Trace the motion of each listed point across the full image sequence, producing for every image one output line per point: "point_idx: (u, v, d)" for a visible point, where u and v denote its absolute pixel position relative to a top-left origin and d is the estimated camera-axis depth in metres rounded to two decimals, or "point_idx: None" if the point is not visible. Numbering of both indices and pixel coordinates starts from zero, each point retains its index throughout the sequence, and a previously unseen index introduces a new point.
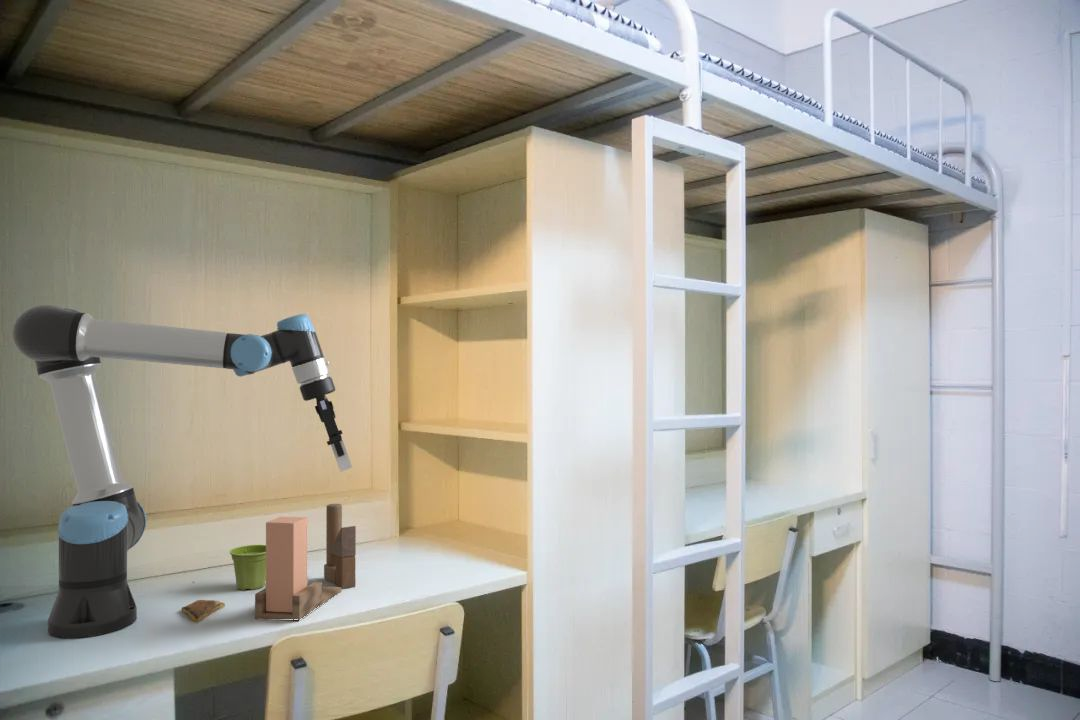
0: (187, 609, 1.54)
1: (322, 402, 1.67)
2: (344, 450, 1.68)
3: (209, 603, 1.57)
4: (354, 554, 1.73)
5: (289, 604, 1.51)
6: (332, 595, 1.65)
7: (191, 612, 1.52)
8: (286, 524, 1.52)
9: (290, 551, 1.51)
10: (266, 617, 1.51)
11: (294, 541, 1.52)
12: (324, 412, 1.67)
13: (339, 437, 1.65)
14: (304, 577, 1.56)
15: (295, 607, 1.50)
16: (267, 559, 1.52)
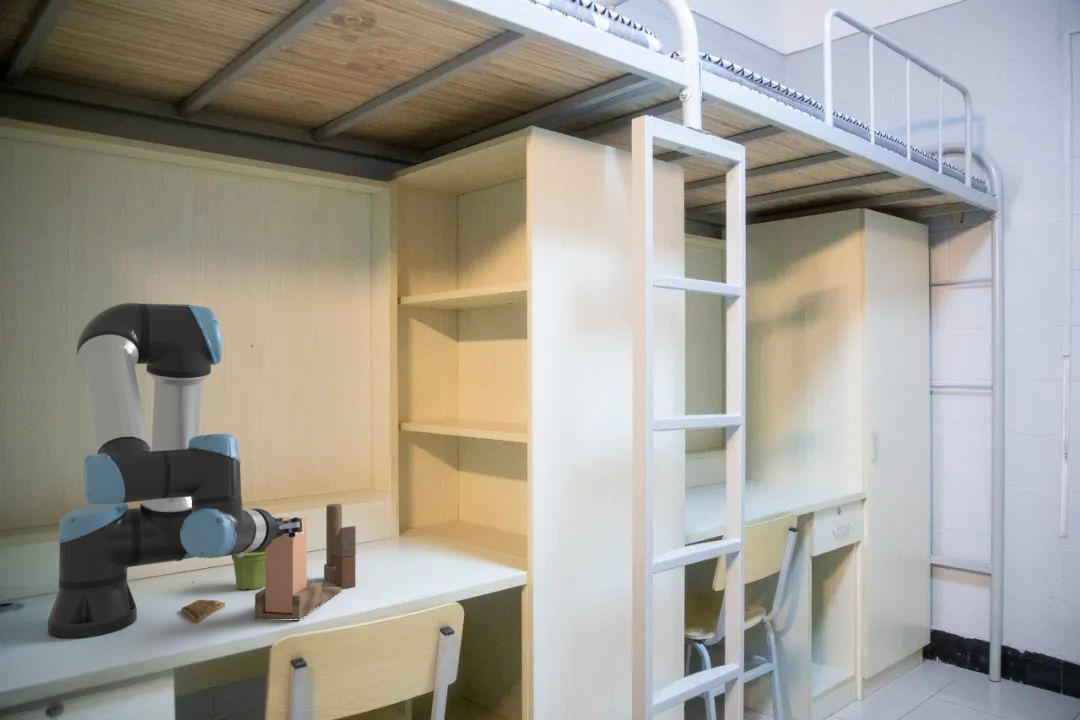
0: (187, 609, 1.54)
1: None
2: None
3: (209, 603, 1.57)
4: (354, 554, 1.73)
5: (289, 605, 1.51)
6: (332, 595, 1.65)
7: (191, 612, 1.52)
8: None
9: (290, 551, 1.51)
10: (266, 617, 1.51)
11: (293, 541, 1.51)
12: None
13: None
14: (303, 577, 1.55)
15: (295, 607, 1.50)
16: (266, 559, 1.52)
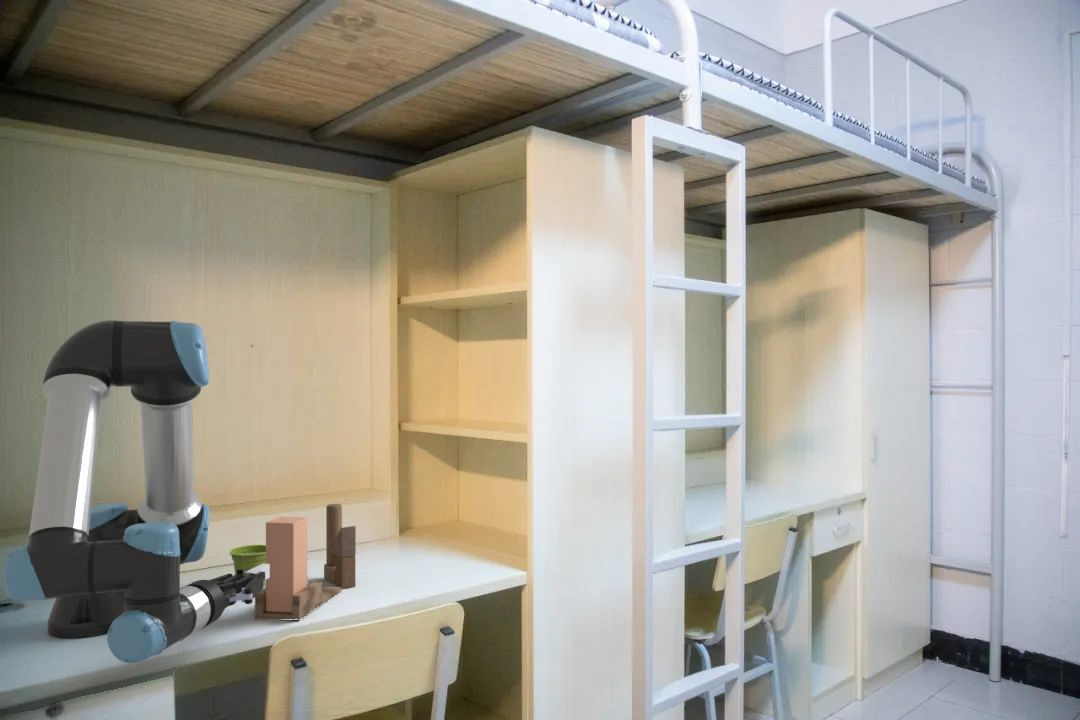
0: None
1: None
2: None
3: None
4: (354, 554, 1.73)
5: (289, 604, 1.51)
6: (332, 595, 1.65)
7: None
8: (286, 524, 1.52)
9: (290, 551, 1.51)
10: (266, 617, 1.51)
11: (294, 541, 1.52)
12: None
13: None
14: (304, 577, 1.56)
15: (295, 607, 1.50)
16: (267, 559, 1.52)
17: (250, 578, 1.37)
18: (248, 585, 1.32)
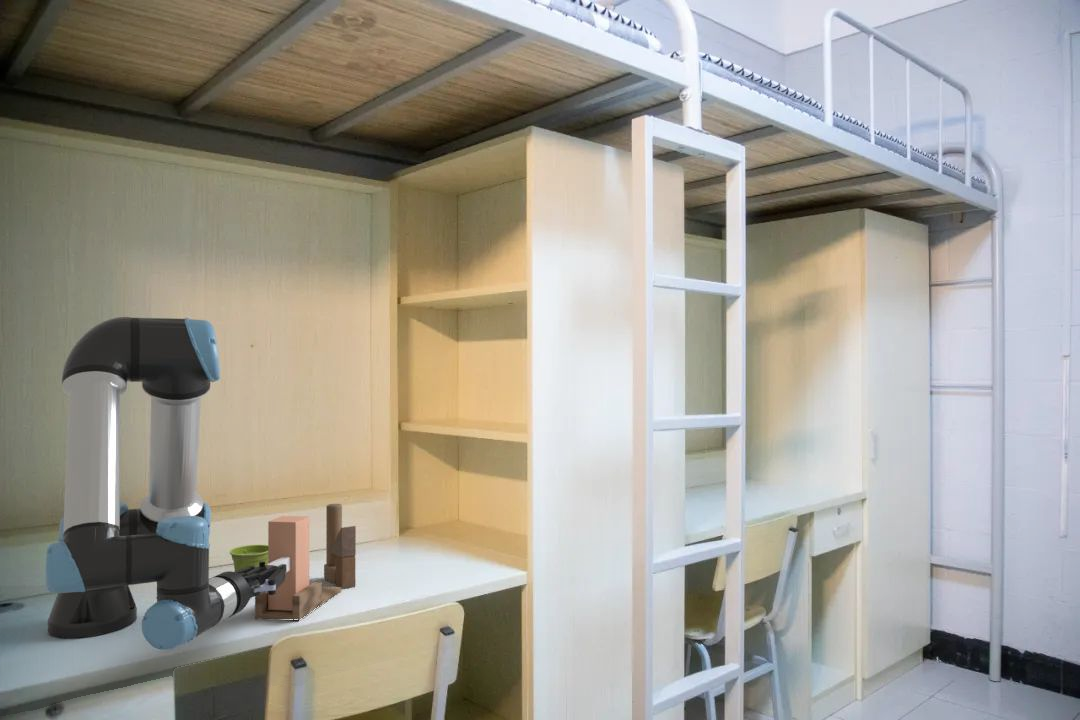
0: None
1: None
2: None
3: None
4: (354, 554, 1.73)
5: None
6: (332, 595, 1.65)
7: None
8: (288, 523, 1.52)
9: (292, 550, 1.52)
10: (266, 617, 1.51)
11: (296, 540, 1.53)
12: None
13: None
14: (306, 575, 1.57)
15: (295, 607, 1.50)
16: (269, 558, 1.53)
17: (272, 570, 1.43)
18: (271, 577, 1.38)
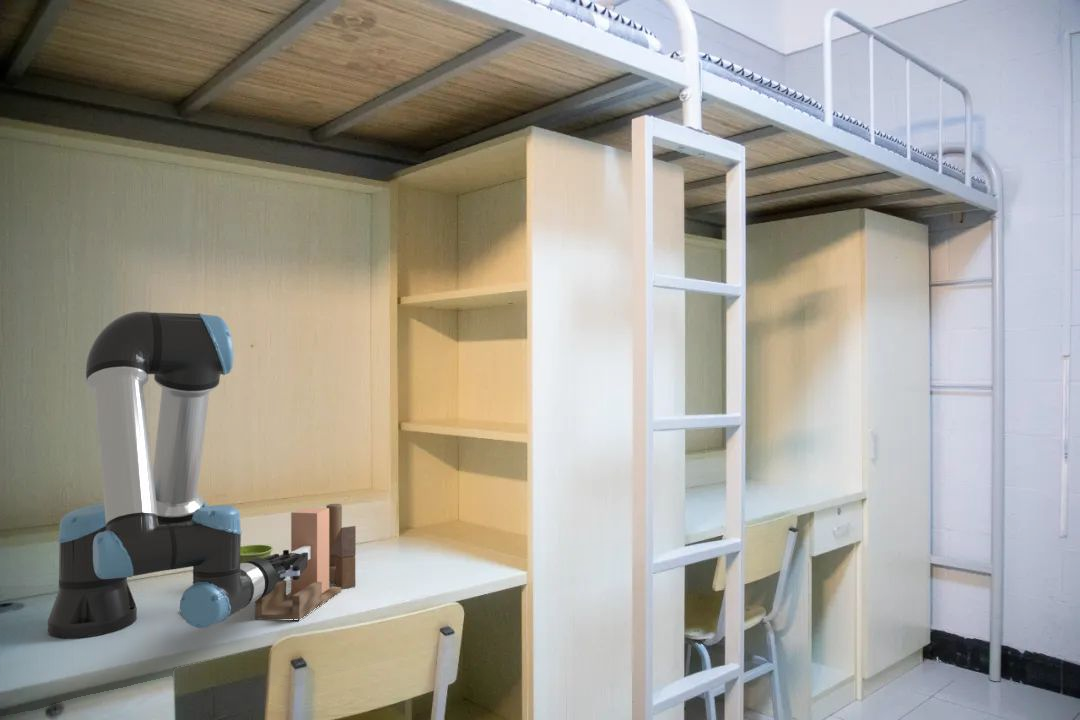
0: None
1: None
2: None
3: None
4: (354, 554, 1.73)
5: None
6: (332, 595, 1.65)
7: None
8: (310, 514, 1.62)
9: (314, 539, 1.62)
10: (266, 617, 1.51)
11: (318, 530, 1.62)
12: None
13: None
14: (326, 563, 1.66)
15: (295, 607, 1.50)
16: (292, 547, 1.63)
17: (295, 558, 1.53)
18: (295, 563, 1.47)
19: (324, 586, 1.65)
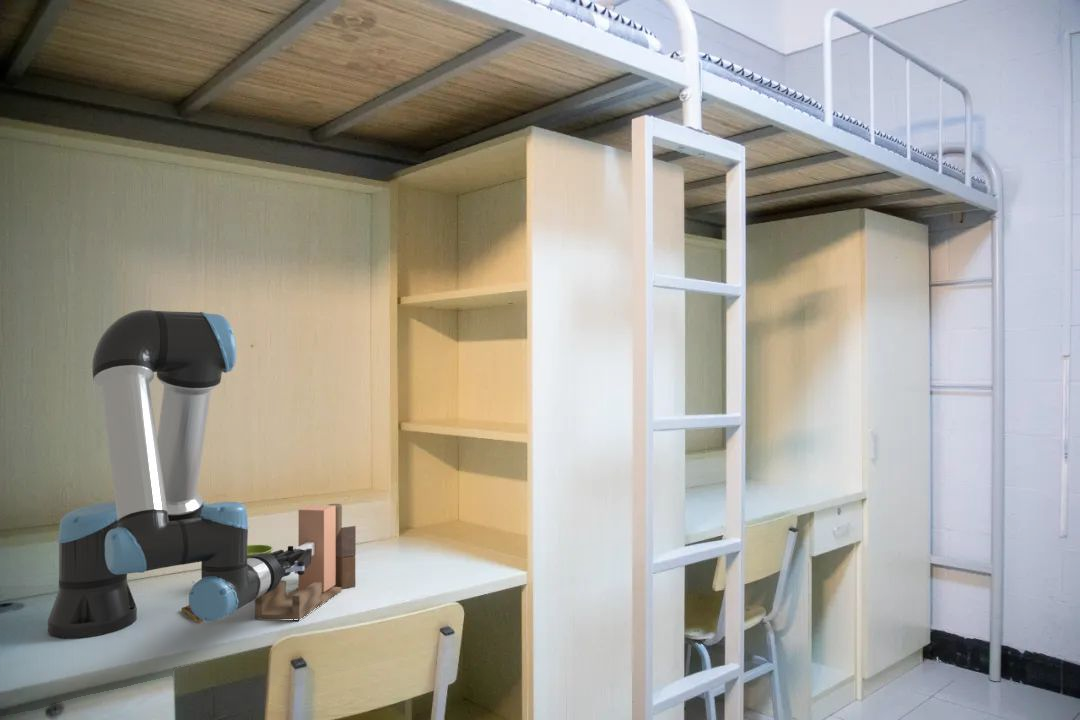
0: (188, 609, 1.54)
1: None
2: None
3: None
4: (354, 554, 1.73)
5: None
6: (332, 595, 1.65)
7: (192, 612, 1.52)
8: (317, 511, 1.65)
9: (321, 536, 1.65)
10: (266, 617, 1.51)
11: (324, 527, 1.66)
12: None
13: None
14: (333, 560, 1.70)
15: (295, 607, 1.50)
16: (299, 543, 1.66)
17: (300, 553, 1.56)
18: (300, 559, 1.51)
19: (331, 582, 1.69)
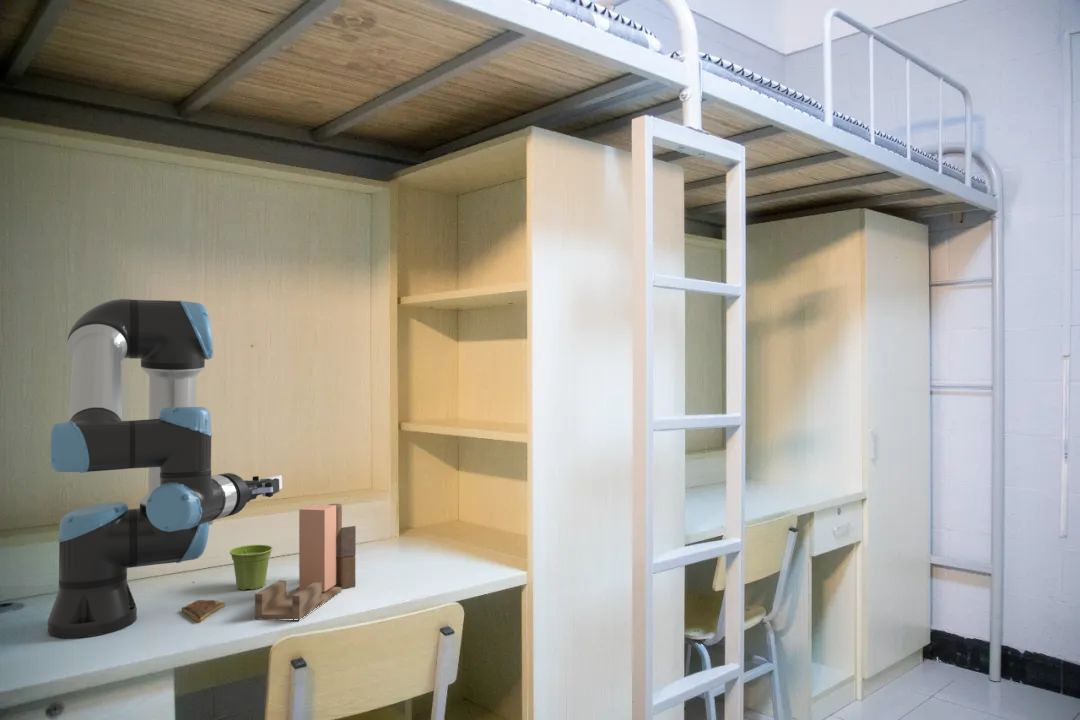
0: (188, 609, 1.54)
1: None
2: None
3: (209, 603, 1.58)
4: (354, 554, 1.73)
5: None
6: (332, 595, 1.65)
7: (192, 612, 1.52)
8: (318, 511, 1.66)
9: (322, 535, 1.65)
10: (266, 617, 1.51)
11: (325, 526, 1.66)
12: None
13: None
14: (333, 559, 1.70)
15: (295, 607, 1.50)
16: (300, 543, 1.66)
17: (267, 481, 1.44)
18: (267, 482, 1.39)
19: (332, 581, 1.69)
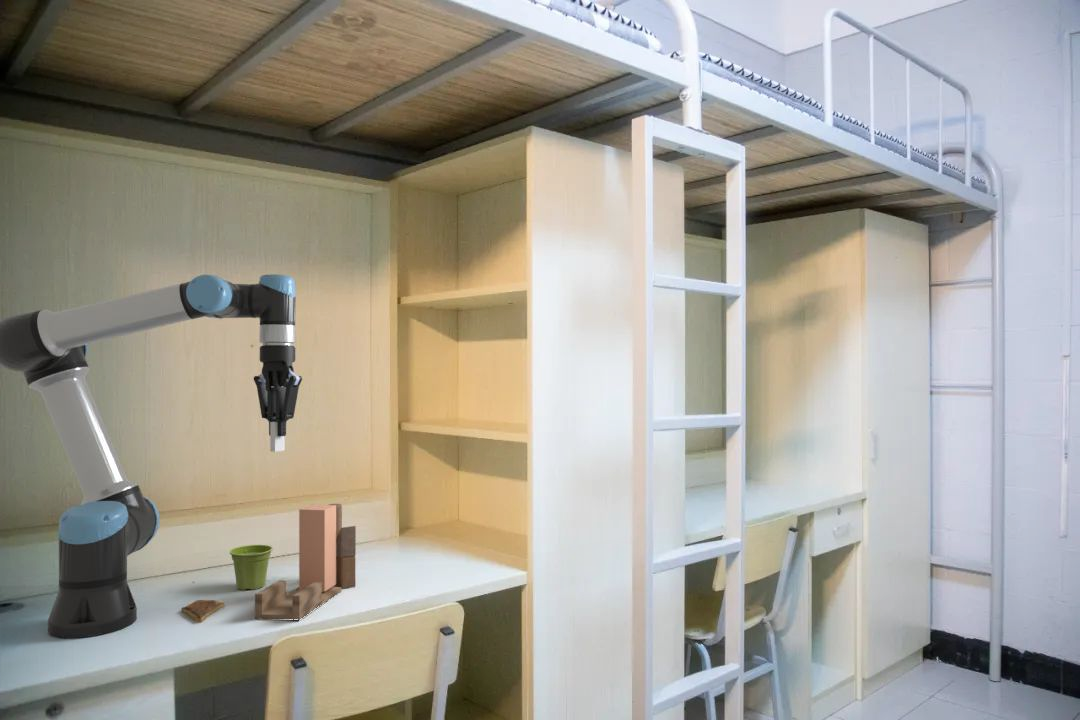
0: (188, 609, 1.54)
1: (297, 379, 1.63)
2: None
3: (209, 603, 1.58)
4: (354, 554, 1.73)
5: None
6: (332, 595, 1.65)
7: (193, 612, 1.52)
8: (318, 511, 1.66)
9: (322, 535, 1.65)
10: (266, 617, 1.51)
11: (325, 526, 1.66)
12: (293, 388, 1.63)
13: (292, 416, 1.65)
14: (333, 559, 1.70)
15: (295, 607, 1.50)
16: (300, 543, 1.66)
17: None
18: (259, 387, 1.67)
19: (332, 581, 1.69)
